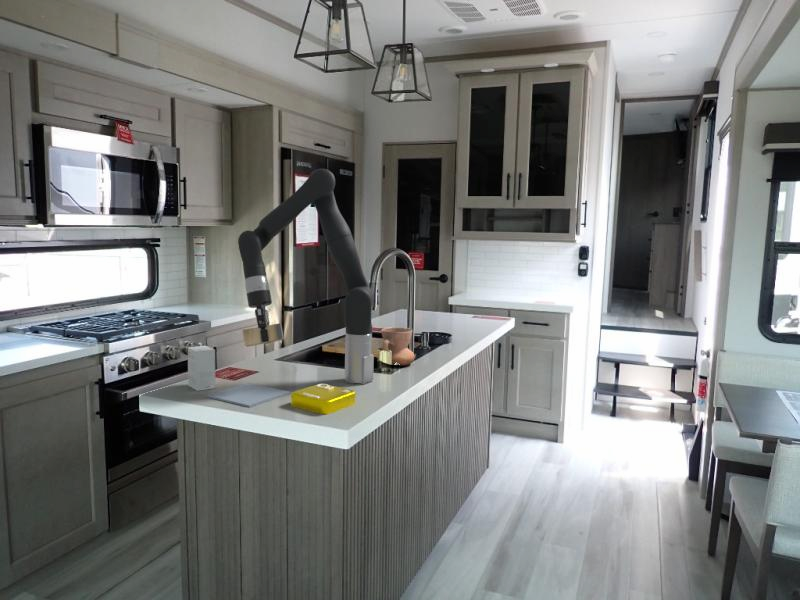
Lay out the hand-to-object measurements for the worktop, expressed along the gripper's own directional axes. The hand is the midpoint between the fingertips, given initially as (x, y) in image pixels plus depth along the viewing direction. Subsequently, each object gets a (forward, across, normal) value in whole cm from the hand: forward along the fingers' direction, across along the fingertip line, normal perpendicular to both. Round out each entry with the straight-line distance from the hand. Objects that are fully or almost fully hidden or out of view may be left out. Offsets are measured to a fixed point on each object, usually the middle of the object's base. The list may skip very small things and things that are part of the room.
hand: (266, 342), depth 191 cm
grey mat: (+16, 0, +8) cm, 18 cm away
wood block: (-3, 0, +7) cm, 7 cm away
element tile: (+23, -9, -14) cm, 29 cm away
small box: (+10, +9, +24) cm, 27 cm away
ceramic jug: (+14, +42, -44) cm, 62 cm away
